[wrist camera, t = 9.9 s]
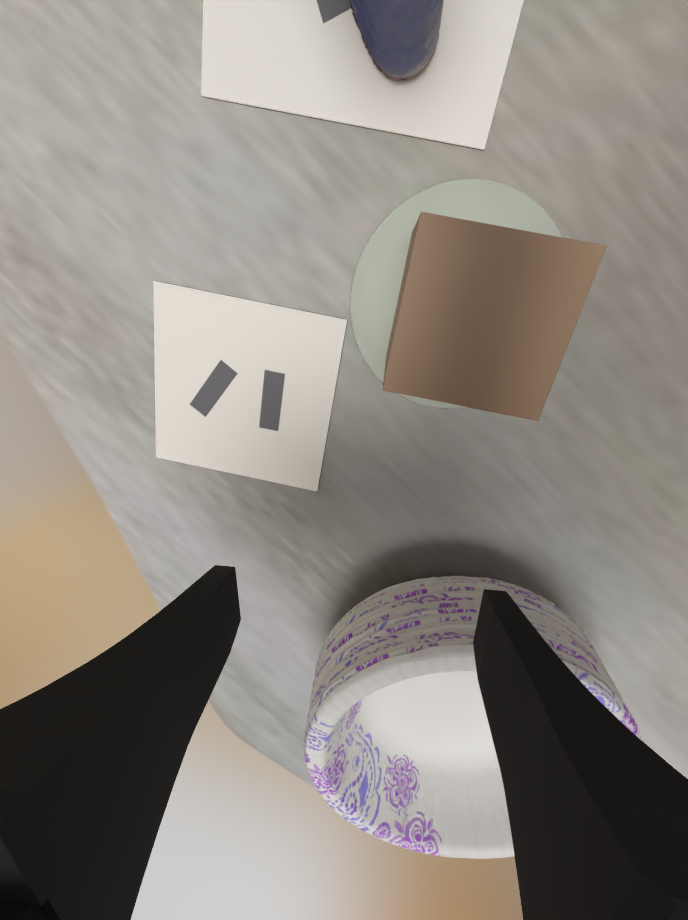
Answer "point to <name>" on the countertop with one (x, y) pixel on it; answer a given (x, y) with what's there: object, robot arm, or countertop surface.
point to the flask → (399, 33)
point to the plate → (390, 247)
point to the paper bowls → (425, 715)
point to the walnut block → (486, 314)
